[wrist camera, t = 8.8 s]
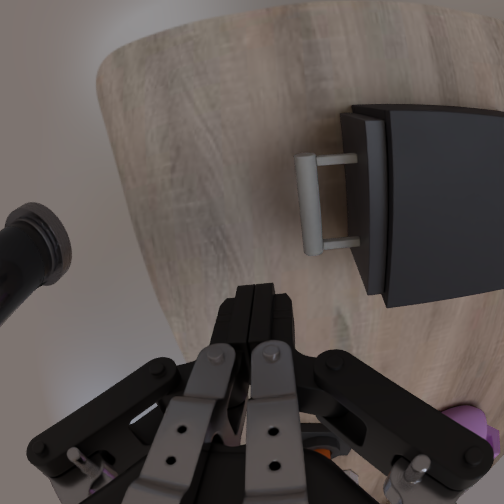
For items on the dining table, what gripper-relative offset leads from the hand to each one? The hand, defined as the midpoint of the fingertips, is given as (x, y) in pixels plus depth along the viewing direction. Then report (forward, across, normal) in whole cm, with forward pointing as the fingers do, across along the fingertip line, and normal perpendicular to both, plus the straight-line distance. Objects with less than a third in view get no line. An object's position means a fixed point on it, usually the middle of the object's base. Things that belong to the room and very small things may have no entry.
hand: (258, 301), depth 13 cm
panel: (+15, -3, +40) cm, 43 cm away
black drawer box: (+15, -15, -1) cm, 21 cm away
